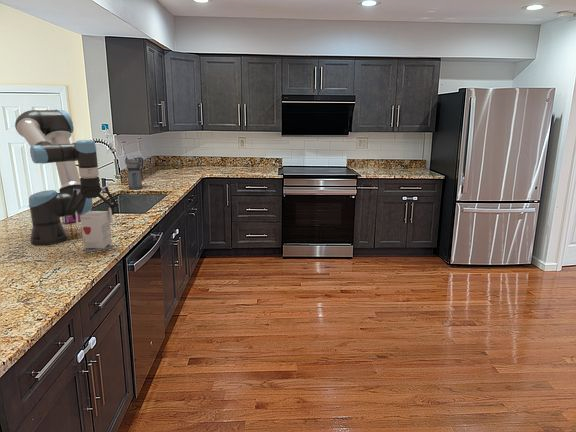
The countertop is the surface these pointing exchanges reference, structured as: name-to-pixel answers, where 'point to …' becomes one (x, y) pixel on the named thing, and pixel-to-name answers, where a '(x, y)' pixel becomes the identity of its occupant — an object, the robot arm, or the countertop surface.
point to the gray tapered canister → (134, 173)
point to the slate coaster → (98, 249)
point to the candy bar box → (70, 219)
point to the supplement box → (96, 229)
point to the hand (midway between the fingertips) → (94, 224)
